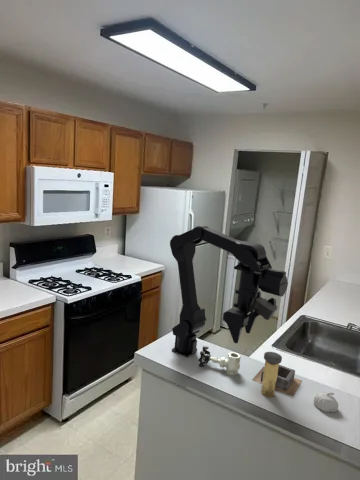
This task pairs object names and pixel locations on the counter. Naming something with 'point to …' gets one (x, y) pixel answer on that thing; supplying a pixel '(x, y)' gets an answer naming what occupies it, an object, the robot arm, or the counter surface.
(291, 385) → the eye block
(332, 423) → the counter surface
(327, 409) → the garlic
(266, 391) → the grey-topped tan cylinder
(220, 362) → the valve
